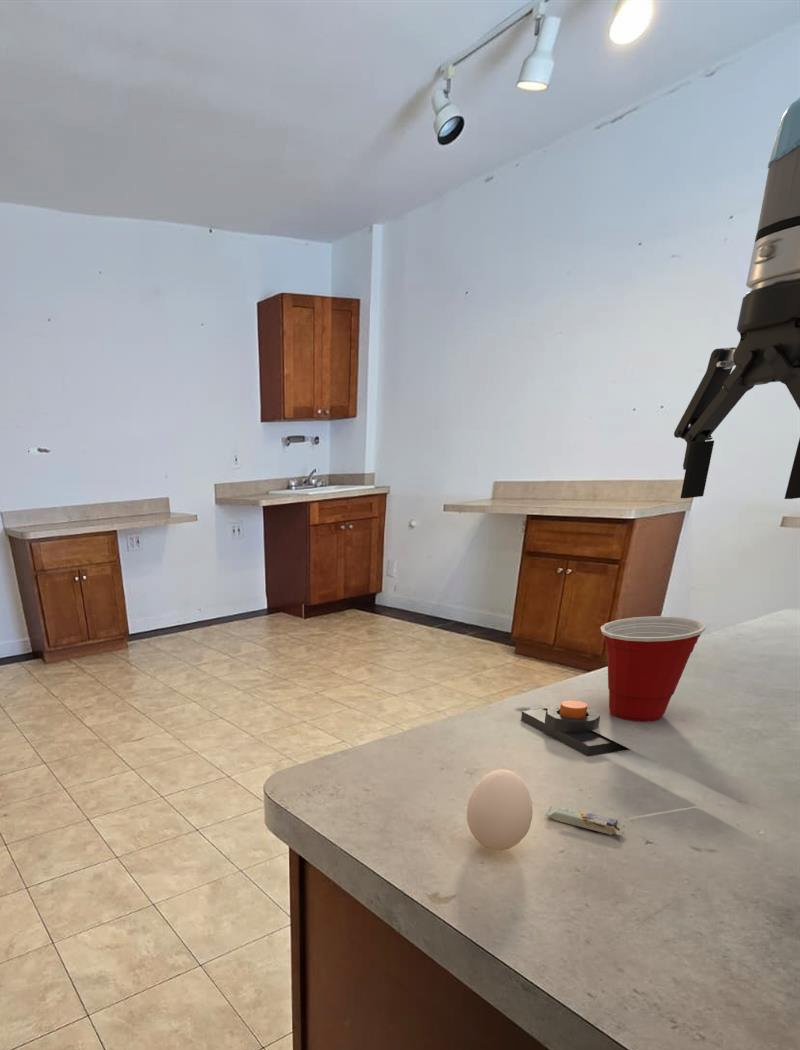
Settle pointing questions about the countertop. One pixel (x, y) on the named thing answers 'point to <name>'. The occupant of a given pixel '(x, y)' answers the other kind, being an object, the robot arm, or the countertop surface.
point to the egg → (499, 810)
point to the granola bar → (586, 820)
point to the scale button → (573, 709)
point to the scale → (572, 730)
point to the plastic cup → (647, 663)
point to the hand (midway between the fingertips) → (740, 497)
